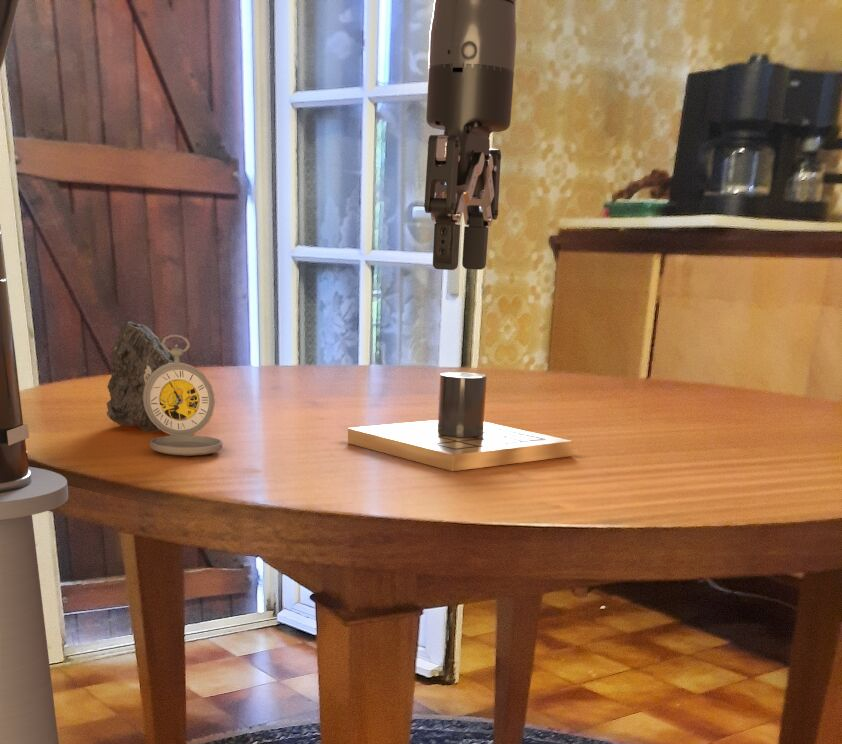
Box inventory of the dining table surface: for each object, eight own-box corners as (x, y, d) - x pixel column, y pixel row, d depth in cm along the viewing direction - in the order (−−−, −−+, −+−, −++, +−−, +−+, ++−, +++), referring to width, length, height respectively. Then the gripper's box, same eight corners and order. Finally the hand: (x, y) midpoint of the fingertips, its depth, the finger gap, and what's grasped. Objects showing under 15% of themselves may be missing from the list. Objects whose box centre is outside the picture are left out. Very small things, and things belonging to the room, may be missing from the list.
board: (452, 471, 97) (453, 454, 97) (347, 443, 108) (347, 427, 107) (571, 456, 107) (573, 440, 106) (464, 431, 118) (465, 417, 117)
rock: (80, 393, 113) (113, 304, 108) (159, 413, 120) (193, 331, 115) (125, 453, 107) (162, 362, 102) (206, 471, 114) (244, 386, 109)
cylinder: (458, 439, 104) (461, 378, 101) (427, 431, 107) (430, 372, 105) (492, 435, 107) (496, 376, 104) (461, 428, 110) (465, 371, 107)
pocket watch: (184, 461, 96) (177, 343, 92) (123, 448, 100) (114, 335, 96) (249, 450, 102) (246, 339, 98) (189, 439, 106) (183, 331, 102)
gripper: (456, 78, 101) (446, 267, 107) (402, 52, 88) (394, 267, 95) (533, 79, 98) (518, 271, 105) (488, 52, 86) (474, 271, 93)
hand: (459, 269), depth 100 cm, fingers open, 8 cm apart
